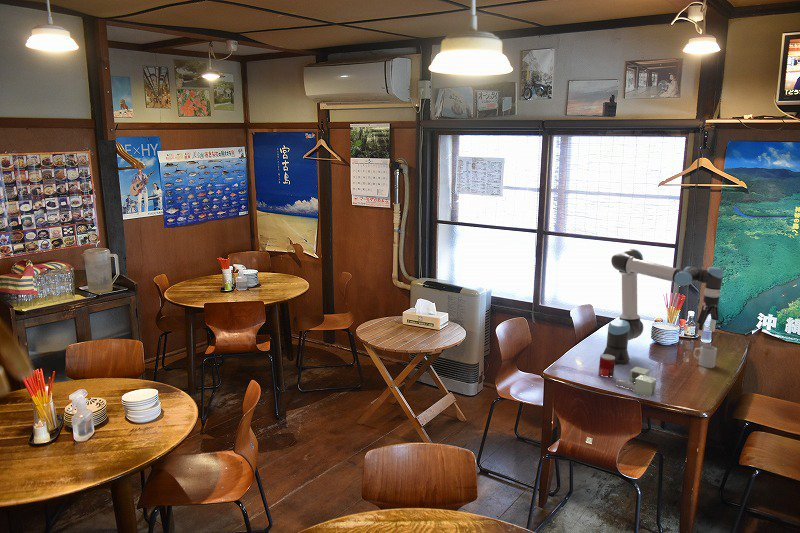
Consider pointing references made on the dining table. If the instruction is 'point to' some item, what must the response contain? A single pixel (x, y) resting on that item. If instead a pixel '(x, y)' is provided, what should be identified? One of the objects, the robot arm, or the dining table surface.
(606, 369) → the canned food
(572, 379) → the dining table surface
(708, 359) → the mug
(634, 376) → the beige hollow box
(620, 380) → the pale grey block
